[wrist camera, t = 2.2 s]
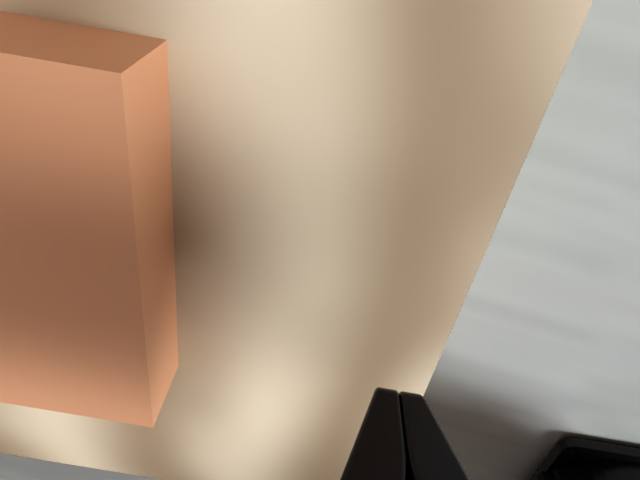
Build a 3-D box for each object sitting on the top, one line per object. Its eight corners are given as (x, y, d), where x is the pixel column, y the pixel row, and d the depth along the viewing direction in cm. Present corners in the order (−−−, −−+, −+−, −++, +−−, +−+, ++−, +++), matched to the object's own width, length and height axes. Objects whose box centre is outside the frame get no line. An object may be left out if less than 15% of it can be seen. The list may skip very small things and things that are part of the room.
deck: (637, -340, 8) (800, -484, 5) (372, 418, 21) (372, 514, 18) (-298, -515, 8) (-731, -775, 5) (3, 356, 21) (-65, 442, 18)
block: (166, 40, 9) (121, 73, 7) (178, 365, 14) (153, 427, 13) (-166, -19, 9) (-286, 2, 7) (-30, 330, 14) (-83, 388, 12)
